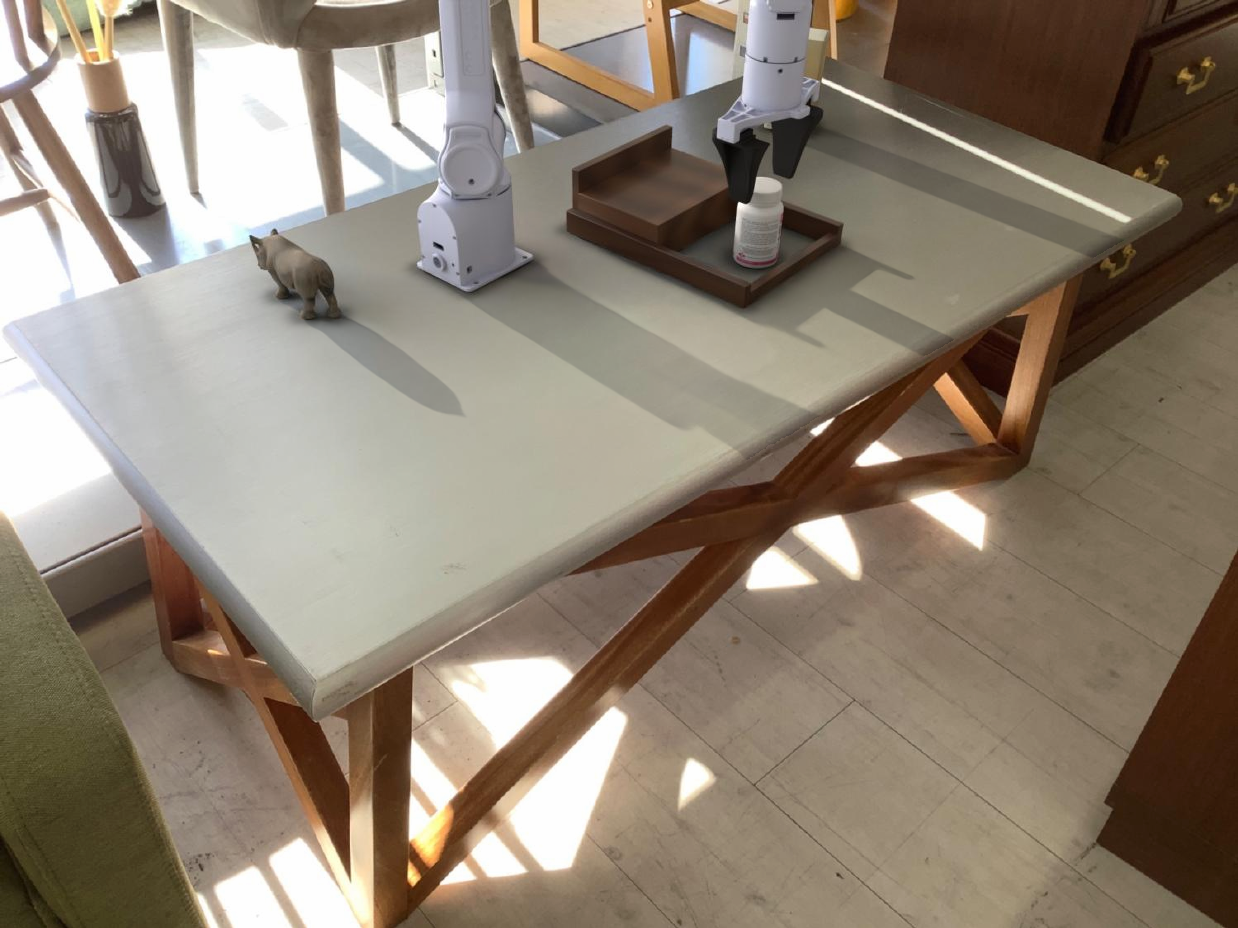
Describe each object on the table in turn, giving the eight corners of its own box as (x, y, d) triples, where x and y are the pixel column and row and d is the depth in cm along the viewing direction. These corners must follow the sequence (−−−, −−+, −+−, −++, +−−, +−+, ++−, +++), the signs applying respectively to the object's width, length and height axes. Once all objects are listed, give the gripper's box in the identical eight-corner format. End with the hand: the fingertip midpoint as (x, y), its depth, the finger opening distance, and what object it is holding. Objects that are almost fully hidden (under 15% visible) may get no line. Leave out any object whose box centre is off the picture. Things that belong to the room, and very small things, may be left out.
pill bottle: (785, 265, 116) (795, 191, 111) (745, 273, 115) (752, 198, 110) (764, 245, 120) (772, 172, 114) (725, 252, 118) (731, 178, 113)
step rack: (743, 308, 110) (750, 245, 105) (566, 231, 122) (565, 171, 117) (840, 244, 120) (850, 184, 116) (668, 178, 132) (671, 122, 128)
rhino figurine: (277, 261, 115) (267, 209, 111) (350, 314, 108) (341, 259, 104) (242, 275, 113) (229, 221, 109) (313, 329, 106) (302, 274, 102)
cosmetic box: (763, 129, 144) (773, 33, 136) (769, 117, 147) (779, 23, 139) (812, 136, 142) (825, 40, 135) (817, 123, 146) (830, 28, 138)
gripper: (766, 85, 97) (752, 225, 106) (853, 44, 106) (833, 176, 115) (703, 66, 101) (694, 202, 110) (791, 27, 110) (777, 157, 118)
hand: (762, 188), depth 112 cm, fingers open, 7 cm apart
